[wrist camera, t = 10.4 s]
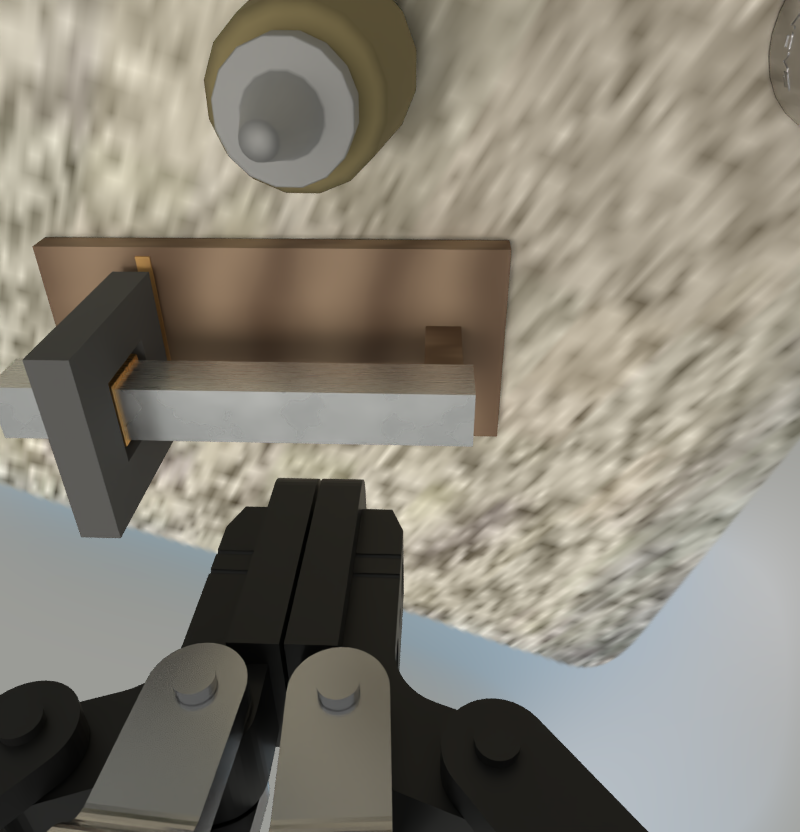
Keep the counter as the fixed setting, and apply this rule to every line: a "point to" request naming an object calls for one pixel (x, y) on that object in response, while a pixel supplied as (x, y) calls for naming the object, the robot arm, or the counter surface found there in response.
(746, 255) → the counter surface
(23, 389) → the grey square bar
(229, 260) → the board
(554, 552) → the counter surface
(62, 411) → the dark grey flat piece
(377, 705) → the robot arm
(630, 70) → the counter surface
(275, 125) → the squeeze bottle
